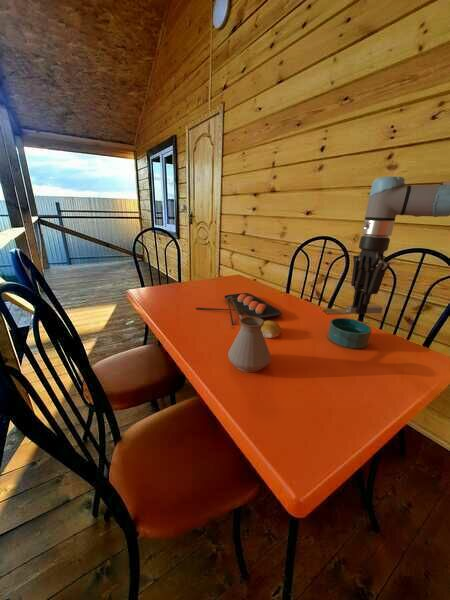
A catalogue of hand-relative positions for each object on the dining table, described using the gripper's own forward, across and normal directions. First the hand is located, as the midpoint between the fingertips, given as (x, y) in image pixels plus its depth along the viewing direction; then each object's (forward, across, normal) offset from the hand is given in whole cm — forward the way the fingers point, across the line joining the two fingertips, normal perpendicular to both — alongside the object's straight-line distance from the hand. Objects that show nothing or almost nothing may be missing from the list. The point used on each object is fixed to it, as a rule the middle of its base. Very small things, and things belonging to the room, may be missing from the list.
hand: (358, 311), depth 81 cm
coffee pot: (+11, +6, -39) cm, 41 cm away
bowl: (+10, 0, -2) cm, 11 cm away
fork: (0, 0, -2) cm, 2 cm away
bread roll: (+11, -7, -27) cm, 30 cm away
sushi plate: (+11, -29, -35) cm, 47 cm away
